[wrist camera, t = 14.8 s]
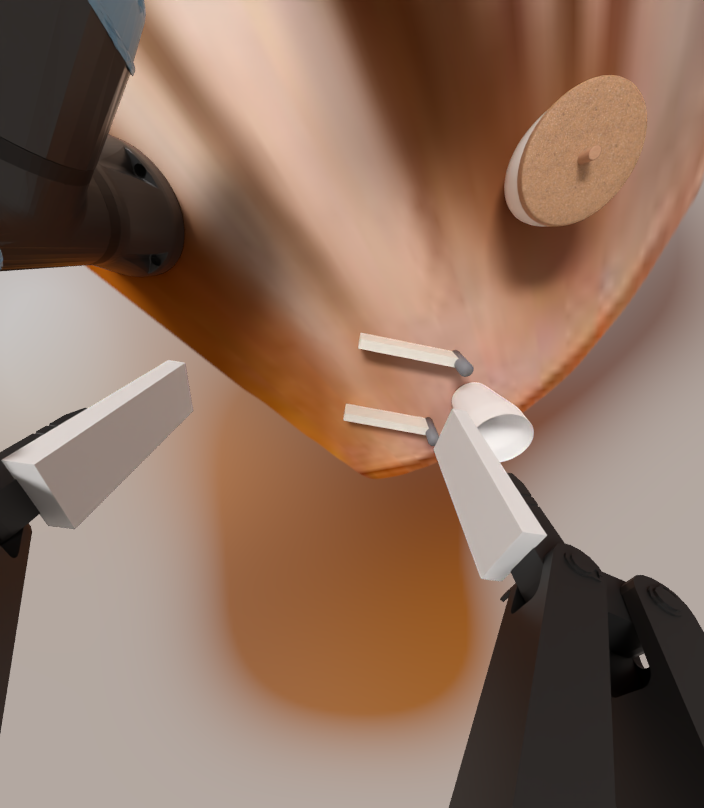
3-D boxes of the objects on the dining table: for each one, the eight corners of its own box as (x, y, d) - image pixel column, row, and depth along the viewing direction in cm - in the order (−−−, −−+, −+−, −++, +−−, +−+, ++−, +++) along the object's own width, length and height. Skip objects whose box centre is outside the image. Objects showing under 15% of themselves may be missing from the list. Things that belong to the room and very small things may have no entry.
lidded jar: (569, 224, 34) (635, 216, 26) (483, 236, 35) (520, 231, 27) (599, 106, 28) (693, 48, 20) (496, 124, 29) (547, 75, 21)
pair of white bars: (344, 411, 49) (342, 429, 44) (360, 331, 42) (360, 342, 36) (430, 426, 50) (437, 446, 45) (462, 351, 43) (475, 365, 37)
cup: (439, 385, 46) (462, 425, 36) (492, 368, 44) (532, 404, 34) (450, 424, 50) (473, 470, 40) (499, 410, 48) (537, 453, 38)
